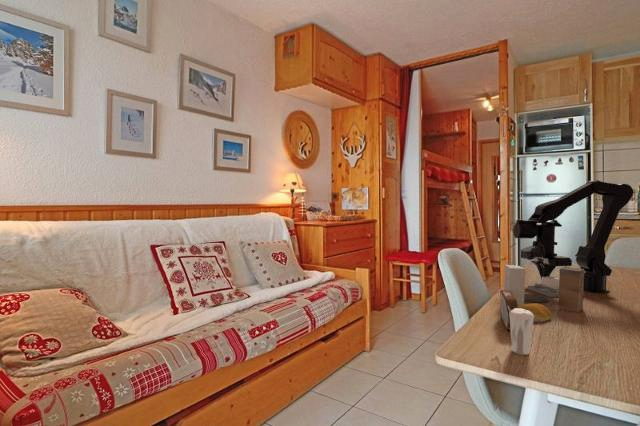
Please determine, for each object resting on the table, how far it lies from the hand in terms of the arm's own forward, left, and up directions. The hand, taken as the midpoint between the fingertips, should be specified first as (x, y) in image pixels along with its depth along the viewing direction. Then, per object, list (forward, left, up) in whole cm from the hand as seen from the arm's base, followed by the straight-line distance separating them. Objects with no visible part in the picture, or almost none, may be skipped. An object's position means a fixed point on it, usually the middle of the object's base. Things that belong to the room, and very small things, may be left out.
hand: (543, 281), depth 134 cm
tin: (+38, +34, -3) cm, 51 cm away
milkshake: (+47, +50, -3) cm, 69 cm away
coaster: (+14, +12, -3) cm, 19 cm away
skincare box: (+25, +18, -3) cm, 31 cm away
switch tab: (0, +3, -2) cm, 4 cm away
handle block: (+10, +23, -3) cm, 25 cm away
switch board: (0, +5, -3) cm, 6 cm away
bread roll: (+27, +29, -3) cm, 40 cm away
